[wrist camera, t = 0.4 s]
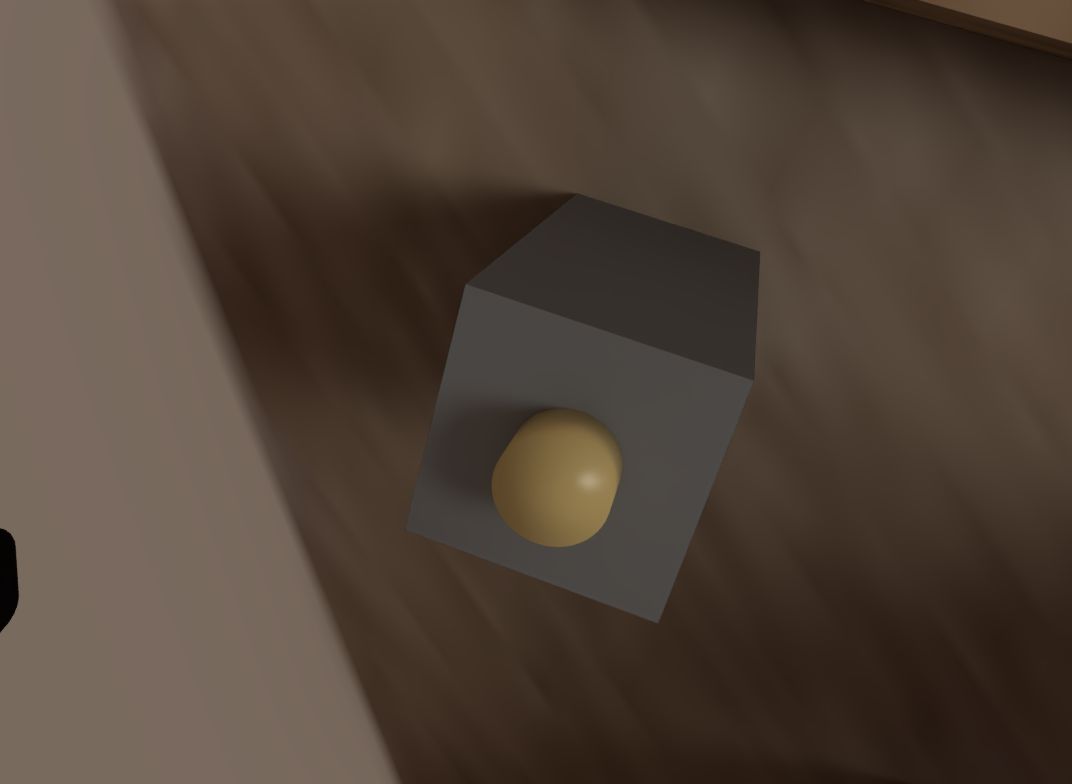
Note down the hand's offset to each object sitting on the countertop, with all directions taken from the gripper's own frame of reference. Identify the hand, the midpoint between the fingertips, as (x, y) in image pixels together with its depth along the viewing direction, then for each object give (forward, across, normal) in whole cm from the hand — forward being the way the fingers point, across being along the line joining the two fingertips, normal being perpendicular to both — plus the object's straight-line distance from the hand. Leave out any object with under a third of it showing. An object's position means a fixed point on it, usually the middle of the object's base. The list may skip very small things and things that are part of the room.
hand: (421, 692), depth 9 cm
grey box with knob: (+13, 0, 0) cm, 13 cm away
